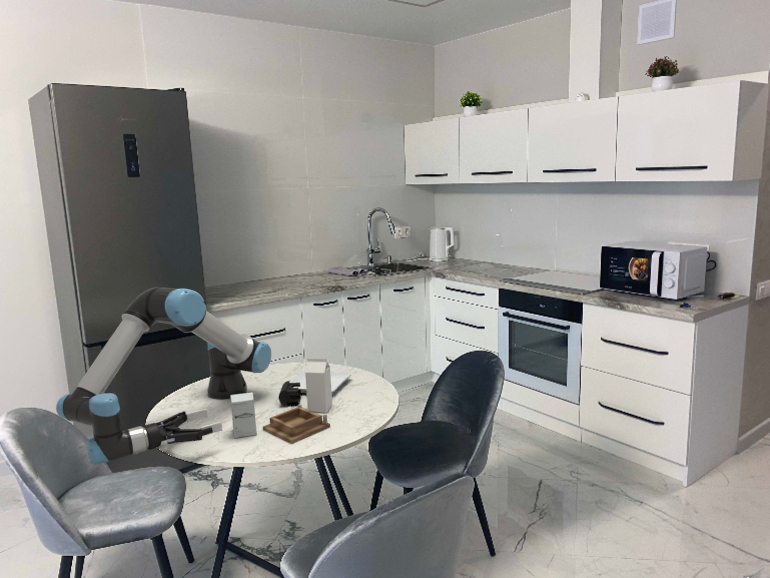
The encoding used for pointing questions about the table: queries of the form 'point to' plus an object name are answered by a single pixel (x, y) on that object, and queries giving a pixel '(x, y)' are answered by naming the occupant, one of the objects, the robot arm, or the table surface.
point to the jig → (296, 424)
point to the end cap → (290, 394)
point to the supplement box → (243, 415)
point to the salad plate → (336, 380)
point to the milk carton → (318, 385)
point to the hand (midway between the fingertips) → (214, 419)
